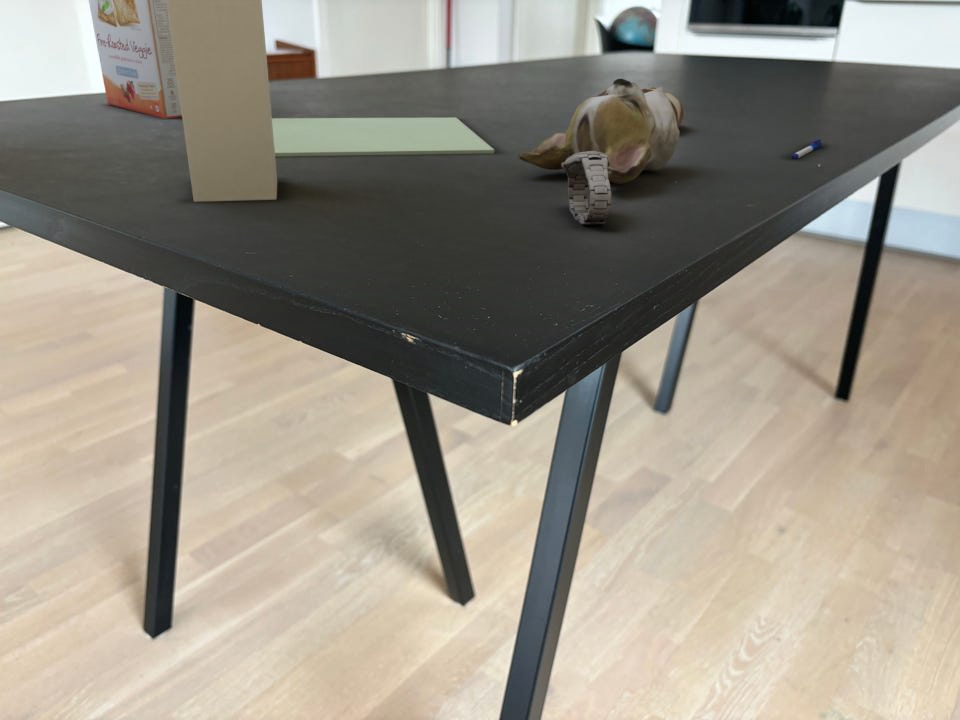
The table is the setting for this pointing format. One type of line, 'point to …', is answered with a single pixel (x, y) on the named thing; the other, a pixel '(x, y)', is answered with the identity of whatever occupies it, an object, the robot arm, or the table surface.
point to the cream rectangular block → (224, 98)
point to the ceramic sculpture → (616, 132)
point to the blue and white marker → (807, 149)
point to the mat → (374, 137)
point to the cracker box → (137, 56)
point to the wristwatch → (588, 187)
